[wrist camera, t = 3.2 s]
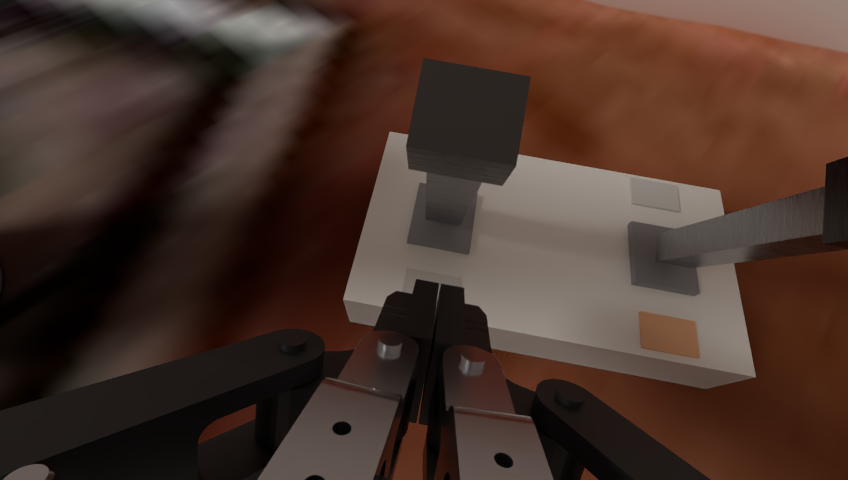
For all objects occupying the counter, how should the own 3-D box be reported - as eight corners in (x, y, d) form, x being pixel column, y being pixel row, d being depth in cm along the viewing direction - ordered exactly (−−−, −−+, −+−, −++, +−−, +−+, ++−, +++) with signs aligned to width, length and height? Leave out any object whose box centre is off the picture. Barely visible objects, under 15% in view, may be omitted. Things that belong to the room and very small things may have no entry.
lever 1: (414, 226, 24) (406, 146, 11) (423, 182, 24) (423, 58, 12) (467, 236, 24) (515, 166, 11) (475, 191, 24) (530, 76, 12)
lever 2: (645, 268, 23) (893, 233, 11) (650, 223, 24) (896, 140, 11) (699, 278, 23) (1010, 254, 11) (703, 233, 24) (1008, 160, 11)
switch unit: (349, 321, 26) (341, 296, 22) (390, 168, 32) (389, 126, 28) (706, 389, 26) (763, 375, 22) (682, 221, 31) (725, 185, 27)
